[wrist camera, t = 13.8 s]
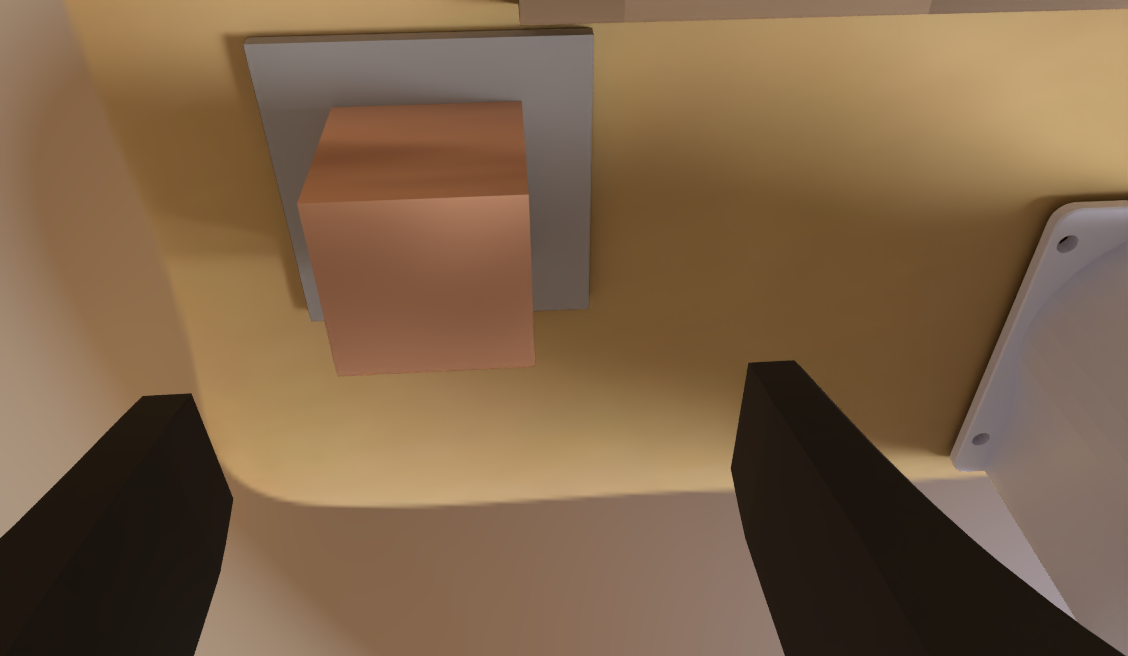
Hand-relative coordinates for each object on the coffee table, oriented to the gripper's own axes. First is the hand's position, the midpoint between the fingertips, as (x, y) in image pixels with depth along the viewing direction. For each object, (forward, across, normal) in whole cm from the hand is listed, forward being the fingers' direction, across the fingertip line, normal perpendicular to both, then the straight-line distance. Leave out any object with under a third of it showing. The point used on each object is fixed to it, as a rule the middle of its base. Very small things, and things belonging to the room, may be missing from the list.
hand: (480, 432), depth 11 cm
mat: (+9, +1, +1) cm, 10 cm away
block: (+9, +1, +1) cm, 9 cm away
